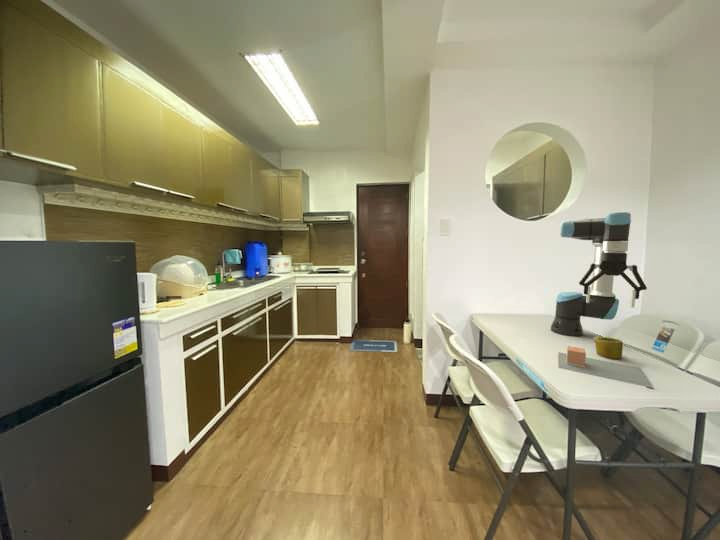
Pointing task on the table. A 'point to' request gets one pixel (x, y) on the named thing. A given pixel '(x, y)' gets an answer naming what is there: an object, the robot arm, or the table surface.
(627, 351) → the table surface
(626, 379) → the mat
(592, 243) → the robot arm
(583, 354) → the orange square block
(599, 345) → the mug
